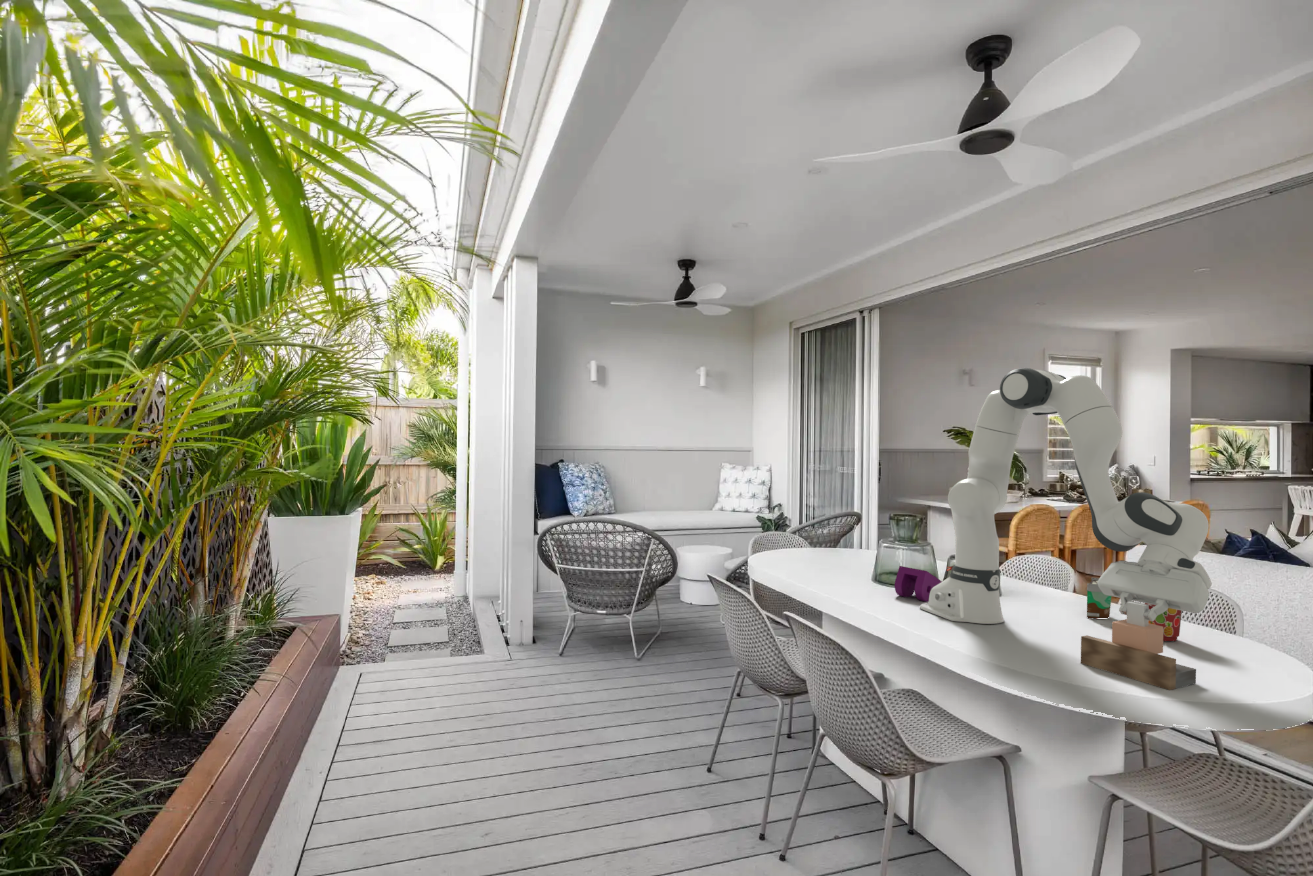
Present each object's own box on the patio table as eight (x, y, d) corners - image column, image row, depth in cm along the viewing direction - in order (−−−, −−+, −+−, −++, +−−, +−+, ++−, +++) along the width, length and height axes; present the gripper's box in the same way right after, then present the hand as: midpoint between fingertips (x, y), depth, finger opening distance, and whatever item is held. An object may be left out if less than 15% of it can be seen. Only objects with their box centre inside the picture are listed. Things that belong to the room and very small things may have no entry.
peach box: (1112, 647, 152) (1112, 601, 152) (1128, 643, 154) (1128, 598, 154) (1146, 656, 145) (1147, 608, 145) (1163, 652, 148) (1163, 605, 148)
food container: (1112, 623, 192) (1113, 586, 192) (1086, 619, 196) (1087, 583, 196) (1115, 614, 202) (1116, 580, 202) (1091, 611, 206) (1091, 577, 206)
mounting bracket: (921, 609, 228) (891, 591, 218) (928, 585, 230) (899, 565, 220) (948, 616, 220) (918, 597, 210) (955, 590, 222) (926, 570, 213)
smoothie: (1181, 638, 178) (1183, 559, 178) (1184, 645, 171) (1185, 564, 171) (1142, 632, 183) (1144, 556, 183) (1142, 639, 176) (1144, 560, 176)
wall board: (1080, 663, 156) (1081, 636, 156) (1106, 658, 160) (1106, 631, 160) (1169, 690, 140) (1170, 660, 140) (1195, 683, 144) (1196, 654, 144)
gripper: (1108, 550, 162) (1081, 595, 158) (1210, 565, 144) (1182, 617, 140) (1119, 568, 164) (1092, 613, 160) (1221, 585, 146) (1194, 637, 142)
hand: (1135, 615), depth 150 cm, fingers closed on peach box, 3 cm apart
